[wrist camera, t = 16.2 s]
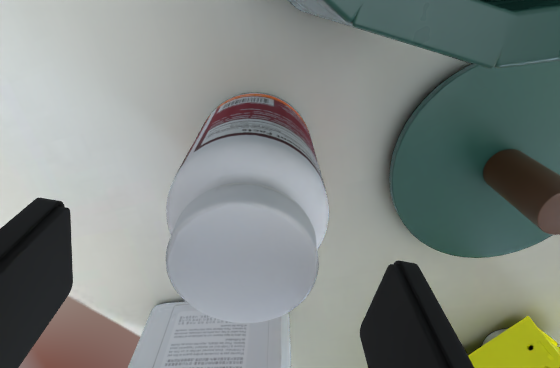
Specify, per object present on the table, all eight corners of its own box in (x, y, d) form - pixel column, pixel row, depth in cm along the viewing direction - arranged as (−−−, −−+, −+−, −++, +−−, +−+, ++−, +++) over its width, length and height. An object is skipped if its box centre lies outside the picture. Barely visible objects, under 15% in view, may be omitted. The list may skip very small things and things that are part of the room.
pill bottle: (260, 209, 23) (249, 367, 13) (180, 146, 21) (95, 276, 11) (333, 141, 21) (385, 266, 11) (252, 64, 19) (227, 132, 9)
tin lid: (576, 236, 24) (663, 303, 19) (385, 256, 24) (416, 327, 19) (636, 31, 18) (786, 43, 13) (386, 64, 19) (431, 88, 14)
